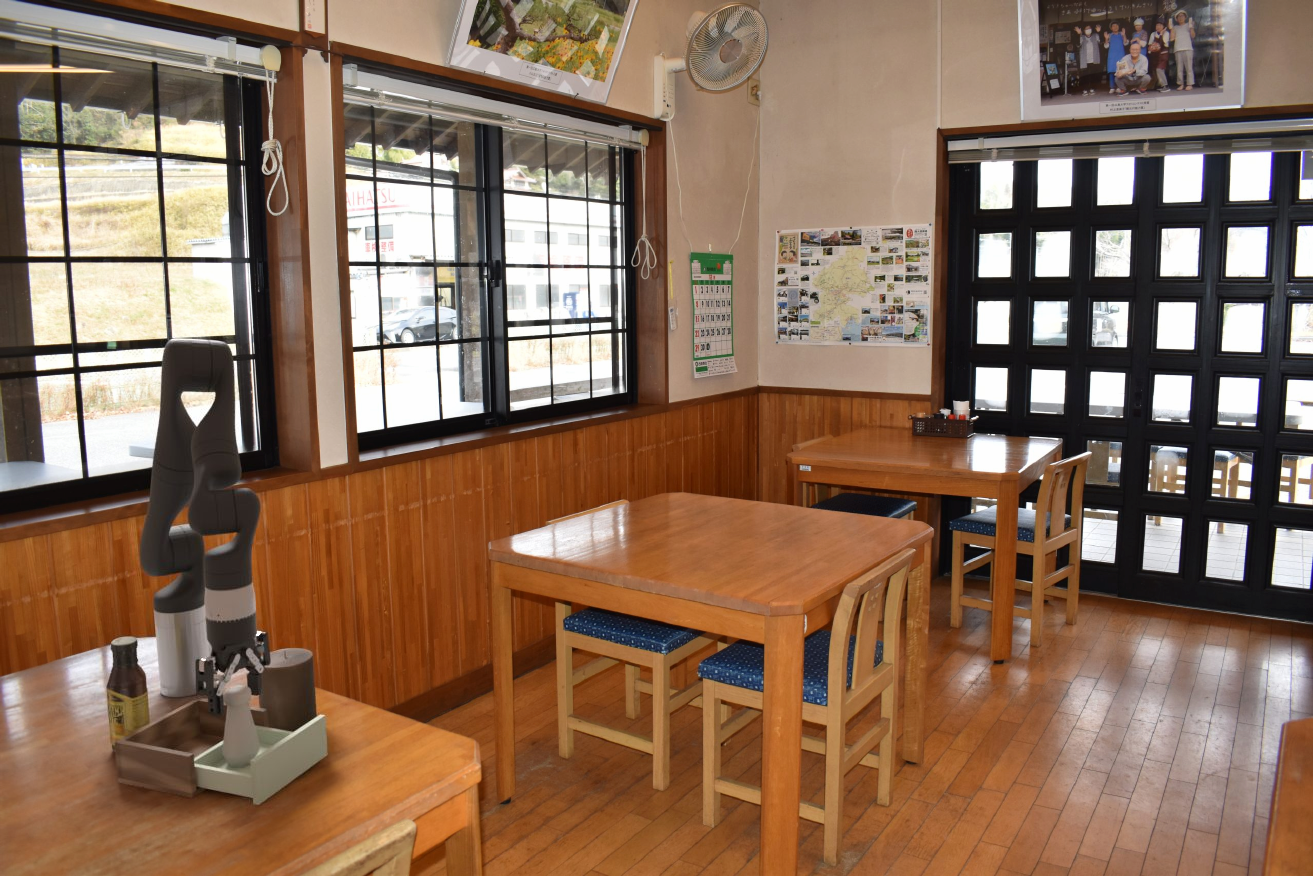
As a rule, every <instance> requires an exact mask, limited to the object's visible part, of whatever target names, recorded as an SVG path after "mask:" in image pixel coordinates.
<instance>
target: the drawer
mask: <svg viewBox="0 0 1313 876" xmlns="http://www.w3.org/2000/svg"><path fill="white" fill-rule="evenodd" d="M326 717H327V716H326V715H325V714H319V715H317V717H316V718H314V719H313V720H311V721H310V722H308V723H307V724H305V725H304V726H302V727H301V728H299V729H297V730H296V731H294V732H291V731H285V730H280V729H274V728H268V727H263V726H257V725H255V728H256V732H257V736H258V739H259V743H260V747H259V751H258V754H257V756H256V757H255V758H254V759H252V760H250V763H251V765H249V766H246V767H243V768H232V767H230V766H229V764H228V762H227V761H226V760H225V758H224V757H223V755H222V748H223V741H224V740H223V741H222V742H220V743H218V744H217V745H215V746H213V747H212V748H210V749H209V750H207V751H205V752H204V753H202V754H200V755H199V756H197V757H195V758H194V764H195V777H196V786H197V787H202V788H206V789H208V790H213V791H216V792H217V791H218V792H221V793H228V794H232V795H235V796H242V797H245V798H246V797H247V798H251V799H252V804H253V805H256V806H257V805H258V806H259V805H261V804H262V803H264V802H265V801H266V800H268V799H269V798H270V797H273V795H275V794H276V793H277V792H279V791H280V790H282V788H284V787H285V786H287V785H288V784H289V783H291V782H293V781H294V780H295V779H296V778H298V777H299V776H300V775H302V774H303V773H305V772H306V771H308V770H309V769H310V768H311V767H313V766H314V765H315V764H317V763H319V762H320V761H321V760H323V759H324V758H325V757H327V756H328V738H327V737H328V736H327V722H326V721H327V719H326Z"/></svg>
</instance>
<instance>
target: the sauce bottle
mask: <svg viewBox="0 0 1313 876" xmlns="http://www.w3.org/2000/svg"><path fill="white" fill-rule="evenodd" d="M138 646H139V644H138V638H137V637H135V636H122V637H117V638H115V639H113V640H112V641H111V642H110V650H111V652H112V667H111V670H110V673H109V675H108V676H109V677H108V681H107V684H106V686H105V687H106V688H105V689H106V701H107V713H108V715H107V716H108V728H109V741H110V743H111V744H110V745H111V750H112V751H113V752H114V753H115V743H114V742H116V741H118V740H120V739H121V738H123V737H125V736H127V735H129V734H131V733H133V732H135V731H136V730H138V729H140V728H142V727H144V726H146V725H148V724H149V723H151V721H150V706H149V705H150V704H149V691H148V685H147V675H146V673H145V670H144V669H143V668H142V666H140V664H139V658H138Z"/></svg>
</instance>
